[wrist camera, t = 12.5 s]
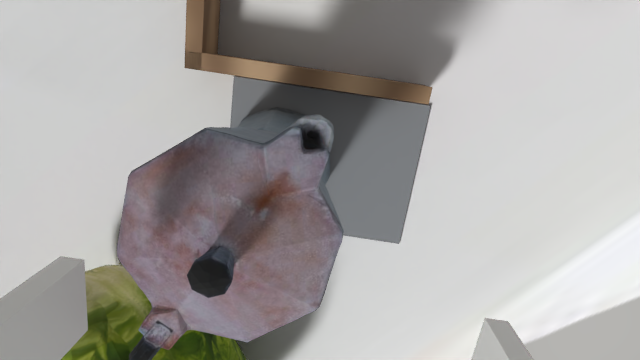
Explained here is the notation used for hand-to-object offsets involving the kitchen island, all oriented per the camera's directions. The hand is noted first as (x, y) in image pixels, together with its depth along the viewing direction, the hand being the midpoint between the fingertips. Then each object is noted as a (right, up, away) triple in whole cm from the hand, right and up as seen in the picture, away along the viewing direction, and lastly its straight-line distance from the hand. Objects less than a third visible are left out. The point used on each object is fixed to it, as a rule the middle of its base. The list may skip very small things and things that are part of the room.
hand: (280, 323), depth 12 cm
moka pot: (-2, +6, +20) cm, 21 cm away
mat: (+1, +6, +20) cm, 21 cm away
